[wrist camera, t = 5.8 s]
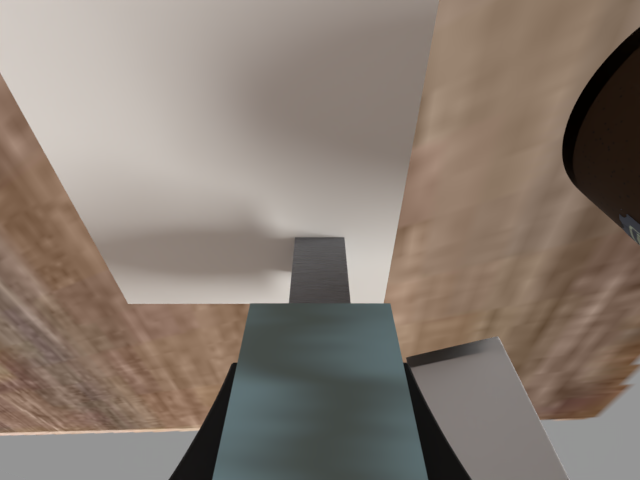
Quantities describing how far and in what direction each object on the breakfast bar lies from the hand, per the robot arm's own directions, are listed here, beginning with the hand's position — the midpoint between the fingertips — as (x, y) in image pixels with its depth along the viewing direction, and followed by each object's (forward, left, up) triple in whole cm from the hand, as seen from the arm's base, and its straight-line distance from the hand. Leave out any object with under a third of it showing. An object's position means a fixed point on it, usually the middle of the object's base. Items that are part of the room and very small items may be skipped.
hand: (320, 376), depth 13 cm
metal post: (0, 0, -8) cm, 8 cm away
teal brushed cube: (0, 0, -1) cm, 1 cm away
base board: (-4, +4, -8) cm, 10 cm away
